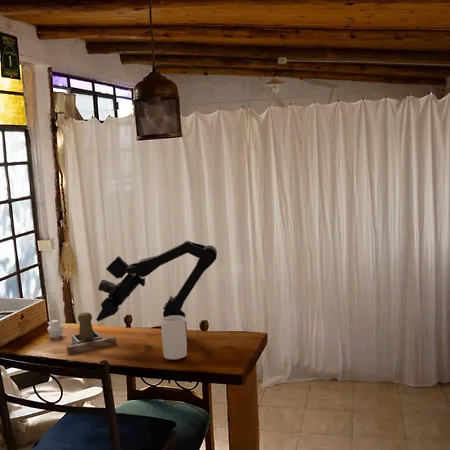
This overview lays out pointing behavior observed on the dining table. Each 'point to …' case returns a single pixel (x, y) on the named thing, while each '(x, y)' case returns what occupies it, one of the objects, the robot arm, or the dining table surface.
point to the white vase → (55, 329)
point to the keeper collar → (76, 339)
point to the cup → (174, 337)
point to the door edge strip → (91, 345)
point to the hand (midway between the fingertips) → (99, 316)
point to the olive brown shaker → (85, 326)
